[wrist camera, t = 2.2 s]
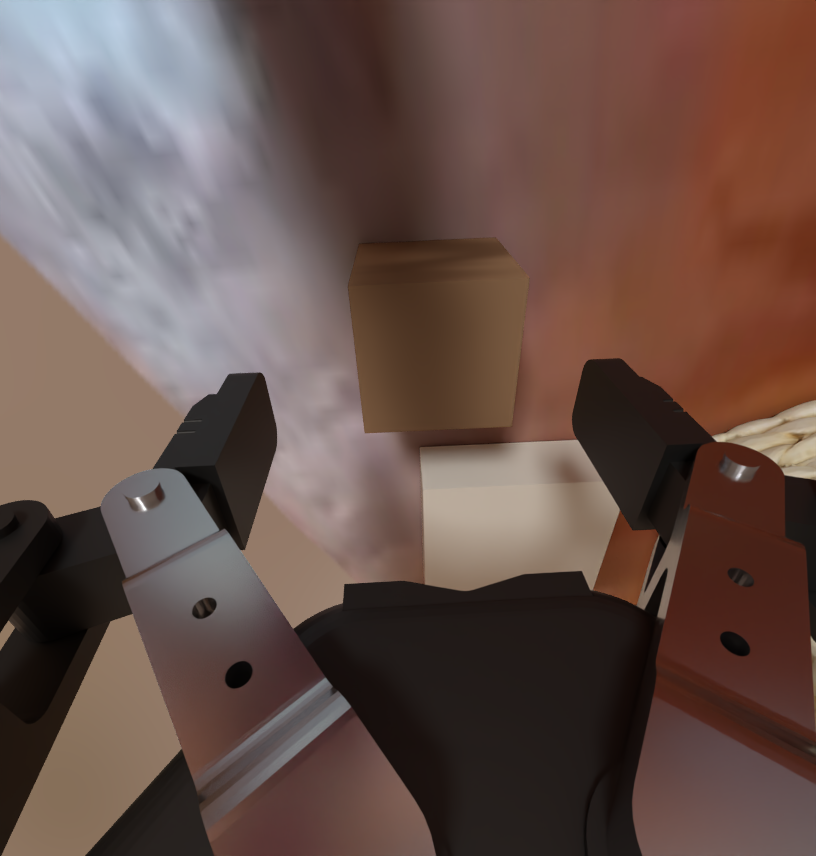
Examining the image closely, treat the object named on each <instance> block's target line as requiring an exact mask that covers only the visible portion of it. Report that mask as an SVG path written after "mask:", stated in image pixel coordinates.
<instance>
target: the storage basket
mask: <svg viewBox="0 0 816 856" xmlns="http://www.w3.org/2000/svg"><path fill="white" fill-rule="evenodd" d="M712 437H713V438H714V439H715V440H716V441H717V442H729V443H735V444H739V445H743V446H746V447H749V448H751V449H754V450H756V451H758V452H760V453H762V454H764V455H766V456H767V457H769V458H770V459H772V460H773V461H774V462H775V463H776V464H777V465H779V467H780V468H781V469H782V471H783V473H784V475H787V476H793V477H800V478H806V479H813V480H816V400H814V401H810V402H806V403H803V404H800V405H797V406H795V407H792V408H790V409H788V410H785V411H783V412H781V413H779V414H777V415H776V416H774V417H773V418H767V419H759V420H755V421H751V422H747V423H745V424H742V425H739V426H736V427H734V428H733V429H731V430H729V431H728V432H726V433H722V434H717V435H714V436H712ZM811 653H812V671H813V689H814V708H815V726H816V643H815V641H814V640H813V639H812V637H811Z"/></svg>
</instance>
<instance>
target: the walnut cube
mask: <svg viewBox="0 0 816 856" xmlns="http://www.w3.org/2000/svg"><path fill="white" fill-rule="evenodd" d="M529 279H530V278H529V277H528V275H527V274H526V273H525V272H524V271H523V269H522V268H521V267H520V266H519V265H518V263H517V262H516V261H515V260H514V259H513V257H512V256H511V255H510V254H509V253H508V251H507V250H506V249H505V248H504V247H503V245H502V244H501V243H500V242H499V241H498V239H497V238H496V237H495V238H473V239H451V240H429V241H406V242H384V243H362V244H359V246H358V250H357V254H356V257H355V261H354V265H353V269H352V273H351V276H350V280H349V284H348V291H349V300H350V309H351V318H352V326H353V335H354V344H355V352H356V361H357V370H358V379H359V387H360V396H361V405H362V414H363V422H364V431H365V433H381V432H403V431H426V430H448V429H470V428H492V427H512V419H513V411H514V403H515V395H516V386H517V378H518V370H519V362H520V353H521V345H522V337H523V329H524V320H525V312H526V304H527V296H528V287H529Z"/></svg>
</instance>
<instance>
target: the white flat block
mask: <svg viewBox="0 0 816 856" xmlns="http://www.w3.org/2000/svg"><path fill="white" fill-rule="evenodd" d="M420 484H421V520H422V557H423V576H424V584H425V585H431V586H436V587H442V588H448V589H454V590H460V591H470V590H474V589H477V588H480V587H484V586H487V585H490V584H493V583H497V582H500V581H503V580H506V579H510V578H513V577H516V576H520V575H523V574H534V573H552V572H569V571H582V572H583V575H584V577H585V579H586V581H587V584H588V586H589V588H590V590H593V588H594V585H595V582H596V579H597V576H598V573H599V570H600V567H601V564H602V561H603V558H604V555H605V552H606V549H607V546H608V543H609V541H610V538H611V535H612V532H613V529H614V526H615V523H616V520H617V517H618V514H619V511H620V509H619V507H618V505H617V504H616V502H615V500H614V499H613V497H612V496H611V494H610V492H609V491H608V489H607V487H606V486H605V484H604V482H603V481H602V479H601V477H600V476H599V474H598V472H597V471H596V469H595V468H594V466H593V464H592V463H591V461H590V459H589V458H588V456H587V454H586V453H585V451H584V449H583V448H582V446H581V444H580V443H579V441H578V440H564V441H542V442H520V443H499V444H477V445H456V446H434V447H420Z"/></svg>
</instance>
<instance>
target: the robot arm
mask: <svg viewBox="0 0 816 856" xmlns="http://www.w3.org/2000/svg"><path fill="white" fill-rule="evenodd" d="M572 425H573V431H574V434H575V436H576V438H577V440H578V441H579V443H580V444H581V446H582V448H583V449H584V451H585V453H586V454H587V456H588V458H589V459H590V461H591V463H592V464H593V466H594V468H595V469H596V471H597V472H598V474H599V476H600V477H601V479H602V481H603V482H604V484H605V486H606V487H607V489H608V491H609V492H610V494H611V496H612V497H613V499H614V500H615V502H616V504H617V505H618V507H619V509H620V510H621V512H622V514H623V515H624V517H625V519H626V520H627V522H628V524H629V525H630V527H631V528H632V530H650V529H656V530H657V532H658V533H659V536H658V539H657V541H656V543H655V545H654V548H653V551H652V555H651V558H650V562H649V565H648V569H647V572H646V576H645V579H644V583H643V586H642V590H641V593H640V596H639V600H638V603H637V606H635V605H633V604H631V603H629V602H627V601H625V600H622V599H620V598H617V597H614V596H612V595H608V594H605V593H601V592H598V591H593V590H590V588H589V586H588V584H587V581H586V579H585V577H584V575H583V572H582V571H569V572H552V573H534V574H523V575H520V576H516V577H513V578H510V579H506V580H503V581H500V582H497V583H493V584H490V585H487V586H484V587H480V588H477V589H474V590H470V591H460V590H454V589H448V588H442V587H436V586H431V585H425V584H419V583H413V582H407V581H392V582H374V583H357V584H345V585H344V598H343V603H342V604H339V605H336V606H333V607H331V608H328V609H326V610H324V611H321V612H319V613H317V614H315V615H314V616H312V617H310V618H308V619H307V620H305V621H304V622H302V623H301V624H299V625H298V626H297V627H295V628H294V629H293V628H292V627H291V625H290V624H289V622H288V621H287V619H286V618H285V616H284V615H283V613H282V612H281V611H280V609H279V607H278V606H277V604H276V603H275V602H274V600H273V599H272V597H271V595H270V594H269V593H268V591H267V590H266V588H265V587H264V585H263V584H262V582H261V581H260V579H259V578H258V576H257V575H256V573H255V572H254V570H253V569H252V567H251V566H250V564H249V563H248V561H247V560H246V558H245V557H244V555H243V554H242V552H241V551H240V550H245V548H246V545H247V541H248V538H249V534H250V531H251V528H252V525H253V522H254V519H255V515H256V512H257V509H258V506H259V503H260V499H261V496H262V493H263V490H264V486H265V483H266V480H267V477H268V474H269V470H270V467H271V464H272V461H273V457H274V454H275V451H276V447H277V428H276V423H275V419H274V414H273V410H272V406H271V402H270V397H269V393H268V389H267V384H266V381H265V378H264V376H263V374H262V373H236V374H229V375H228V376H227V378H226V379H225V381H224V383H223V385H222V386H221V388H220V390H219V391H218V393H217V394H210V395H207V396H206V397H205V398H203V399H202V400H201V401H199V402H198V403H197V404H195V405H194V406H193V407H192V408H191V410H190V411H189V413H188V414H187V416H186V417H185V419H184V423H182V424H181V425H180V427H179V429H178V430H177V434H175V435H174V436H173V438H172V440H171V441H170V443H169V444H168V446H167V447H166V449H165V450H164V452H163V453H162V455H161V456H160V458H159V460H158V461H157V463H156V464H155V466H154V468H153V469H151V470H147V471H143V472H140V473H137V474H134V475H132V476H130V477H128V478H126V479H124V480H123V481H121V482H119V483H118V484H117V485H115V486H114V487H113V488H112V489H111V490H110V491H109V492H108V493H107V494H106V495H105V497H104V498H103V500H102V503H101V506H100V507H97V508H93V509H89V510H86V511H82V512H78V513H74V514H70V515H66V516H63V517H59V518H54V517H53V515H52V514H51V513H50V511H49V510H48V508H47V507H46V506H45V505H44V504H43V503H41V502H38V501H32V500H23V501H15V502H11V503H7V504H4V505H1V506H0V632H1V631H2V629H3V628H4V626H5V624H6V623H7V622H8V620H9V621H10V622H11V624H12V625H13V626H14V627H15V629H14V630H13V632H12V634H11V635H10V637H9V638H8V640H7V641H6V643H5V644H4V646H3V647H2V649H1V651H0V856H1V855H2V853H3V850H4V848H5V846H6V844H7V842H8V840H9V838H10V836H11V833H12V831H13V829H14V827H15V825H16V823H17V821H18V818H19V816H20V814H21V812H22V810H23V807H24V806H25V803H26V801H27V799H28V797H29V795H30V793H31V790H32V788H33V786H34V784H35V782H36V780H37V778H38V775H39V773H40V771H41V769H42V767H43V765H44V763H45V760H46V758H47V756H48V754H49V752H50V750H51V748H52V745H53V743H54V741H55V739H56V737H57V734H58V733H59V730H60V728H61V726H62V724H63V722H64V720H65V718H66V715H67V713H68V711H69V709H70V707H71V705H72V702H73V700H74V698H75V696H76V694H77V692H78V690H79V688H80V685H81V683H82V681H83V679H84V677H85V675H86V672H87V670H88V668H89V666H90V664H91V661H92V659H93V657H94V655H95V653H96V651H97V649H98V647H99V645H100V642H101V640H102V638H103V636H104V634H105V632H106V629H107V627H108V625H109V623H110V621H112V620H115V619H118V618H121V617H125V616H127V615H130V614H133V616H134V619H135V622H136V624H137V627H138V630H139V632H140V635H141V638H142V641H143V643H144V646H145V649H146V652H147V654H148V657H149V660H150V663H151V666H152V668H153V671H154V673H155V676H156V679H157V682H158V685H159V687H160V690H161V693H162V696H163V698H164V701H165V704H166V707H167V709H168V712H169V715H170V718H171V720H172V723H173V726H174V729H175V731H176V734H177V737H178V740H179V742H180V745H181V747H182V749H181V750H180V751H179V753H178V754H177V755H176V756H175V757H174V758H173V759H172V760H171V761H170V763H169V764H168V765H167V766H166V767H165V768H164V769H163V770H162V771H161V773H160V774H159V775H158V776H157V777H156V778H155V779H154V780H153V781H152V782H151V784H150V785H149V786H148V787H147V788H146V789H145V790H144V791H143V793H142V794H141V795H140V796H139V797H138V798H137V799H136V800H135V801H134V802H133V804H132V805H131V806H130V807H129V808H128V809H127V810H126V811H125V812H124V813H123V815H122V816H121V817H120V818H119V819H118V820H117V821H116V822H115V823H114V824H113V826H112V827H111V828H110V829H109V830H108V831H107V832H106V833H105V835H104V836H103V837H102V838H101V839H100V840H99V841H98V842H97V843H96V844H95V845H94V847H93V848H92V849H91V850H90V851H89V852H88V853H87V854H86V855H85V856H816V726H815V708H814V689H813V671H812V653H811V637H812V639H813V640H814V641H815V643H816V480H813V479H806V478H800V477H793V476H787V475H784V473H783V471H782V469H781V468H780V467H779V465H777V464H776V463H775V462H774V461H773V460H772V459H770V458H769V457H767V456H766V455H764V454H762V453H760V452H758V451H756V450H754V449H751V448H749V447H746V446H743V445H739V444H735V443H729V442H717V441H716V440H715V439H714V438H713V437H712V436H711V435H709V434H708V433H707V432H706V431H705V430H704V429H703V428H702V427H701V426H700V425H699V424H698V423H697V422H696V421H695V420H694V419H693V418H692V417H691V416H690V415H689V414H688V413H687V412H683V408H682V407H681V406H680V405H679V404H678V403H677V402H673V399H672V398H671V397H670V396H669V395H668V394H667V393H666V392H665V391H664V390H663V389H662V388H661V387H660V386H658V385H656V384H654V383H652V382H650V381H648V380H647V379H645V378H643V377H639V376H638V375H637V374H636V373H635V372H634V371H633V370H632V369H631V368H630V367H629V366H628V365H627V364H626V363H625V362H624V361H623V360H622V359H619V358H617V359H593V360H588V361H587V362H586V363H585V365H584V368H583V371H582V375H581V379H580V384H579V388H578V392H577V396H576V401H575V405H574V409H573V414H572Z"/></svg>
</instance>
